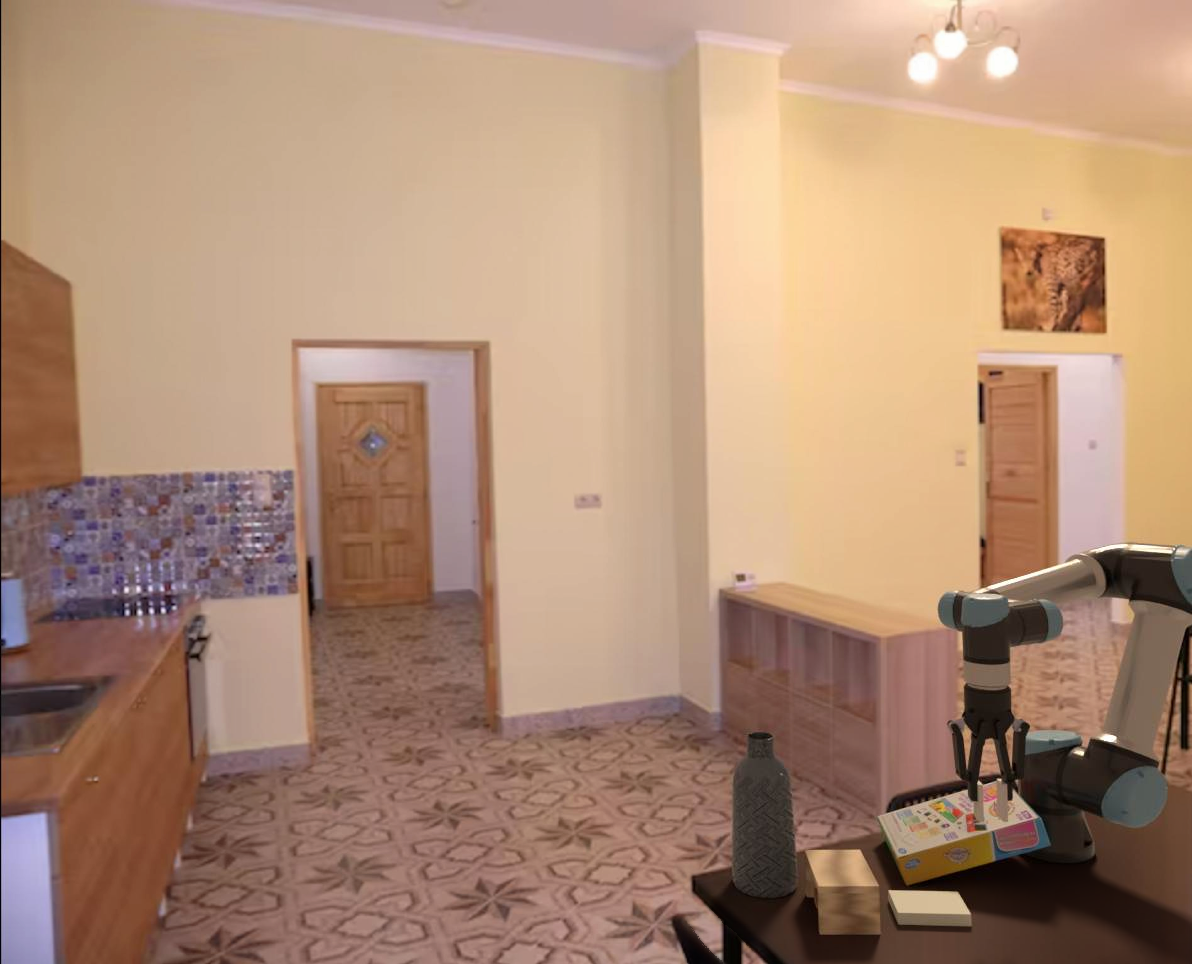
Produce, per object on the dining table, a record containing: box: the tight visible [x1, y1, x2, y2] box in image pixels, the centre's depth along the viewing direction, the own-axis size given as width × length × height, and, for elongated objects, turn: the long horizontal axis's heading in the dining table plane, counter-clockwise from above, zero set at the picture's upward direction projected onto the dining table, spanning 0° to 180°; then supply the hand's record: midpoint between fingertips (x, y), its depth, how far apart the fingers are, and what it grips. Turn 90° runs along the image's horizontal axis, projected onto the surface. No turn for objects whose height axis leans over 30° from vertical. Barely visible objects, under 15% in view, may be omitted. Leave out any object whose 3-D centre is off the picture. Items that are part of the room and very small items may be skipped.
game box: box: [876, 780, 1051, 887], centre depth 173 cm, size 21×6×27 cm
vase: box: [731, 731, 799, 899], centre depth 168 cm, size 12×12×28 cm
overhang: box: [804, 849, 882, 936], centre depth 156 cm, size 10×14×8 cm
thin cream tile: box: [887, 889, 972, 927], centre depth 155 cm, size 12×8×2 cm, turn 83°
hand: (990, 818), depth 154 cm, fingers open, 3 cm apart
